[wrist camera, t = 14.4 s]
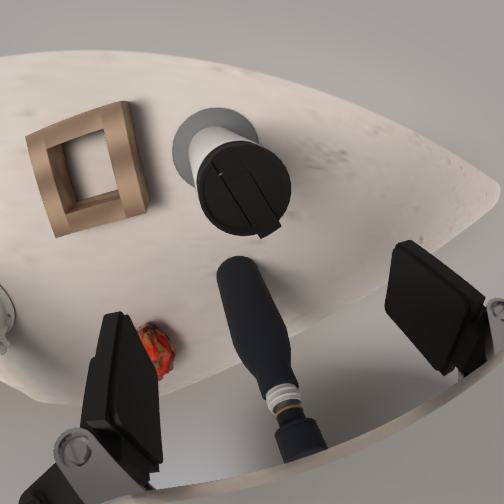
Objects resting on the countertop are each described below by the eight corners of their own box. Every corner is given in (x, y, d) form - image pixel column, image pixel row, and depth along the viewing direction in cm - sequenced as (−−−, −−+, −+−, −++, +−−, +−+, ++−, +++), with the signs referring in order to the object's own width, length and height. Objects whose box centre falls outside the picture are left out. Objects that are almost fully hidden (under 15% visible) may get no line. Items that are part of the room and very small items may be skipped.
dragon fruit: (146, 358, 52) (147, 304, 49) (183, 377, 50) (188, 322, 46) (117, 380, 44) (113, 322, 41) (156, 403, 42) (156, 346, 38)
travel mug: (206, 185, 38) (233, 259, 21) (178, 143, 35) (178, 181, 17) (247, 159, 38) (311, 211, 20) (222, 116, 34) (267, 127, 17)
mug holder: (149, 200, 38) (146, 213, 33) (67, 223, 36) (55, 238, 32) (128, 101, 31) (120, 100, 27) (41, 131, 29) (25, 136, 25)
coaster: (262, 182, 40) (263, 183, 40) (181, 198, 39) (181, 199, 38) (251, 102, 35) (253, 102, 34) (165, 117, 33) (164, 117, 33)
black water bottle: (213, 260, 44) (267, 456, 18) (255, 252, 45) (348, 430, 19) (219, 295, 47) (271, 478, 21) (259, 287, 48) (337, 458, 22)
